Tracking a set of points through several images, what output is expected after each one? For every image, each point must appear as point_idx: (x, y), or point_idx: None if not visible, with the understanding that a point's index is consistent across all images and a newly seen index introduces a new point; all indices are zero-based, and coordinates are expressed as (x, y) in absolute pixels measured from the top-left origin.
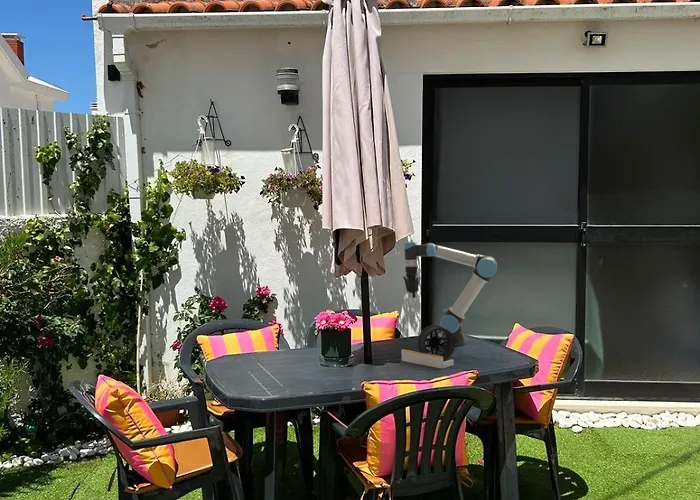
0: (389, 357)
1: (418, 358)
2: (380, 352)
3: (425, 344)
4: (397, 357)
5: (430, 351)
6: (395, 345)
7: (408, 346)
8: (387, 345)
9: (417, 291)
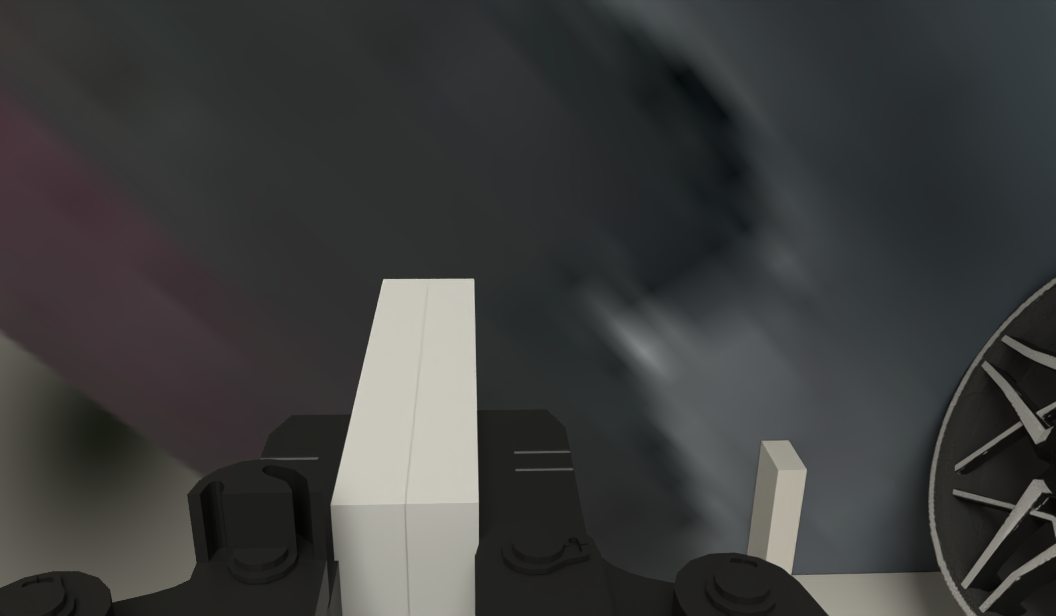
0: None
1: None
2: None
3: (1022, 524)
4: (611, 532)
5: (1019, 436)
6: (96, 110)
7: (296, 49)
8: (9, 176)
9: (765, 574)
